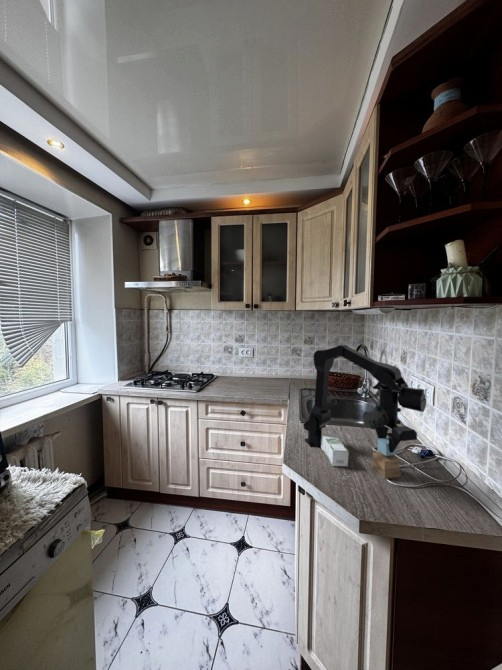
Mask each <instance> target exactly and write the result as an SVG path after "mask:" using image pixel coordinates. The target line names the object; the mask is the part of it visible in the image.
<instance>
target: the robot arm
mask: <svg viewBox="0 0 502 670" xmlns="http://www.w3.org/2000/svg"><path fill="white" fill-rule="evenodd" d="M340 357H341V358H343V359H345V360H347V361H349V362H351V363H353V364H355V366H358V367H360V368H361V369H363V370H365V371H367V372H368V373H370V375H371V376H372V378H373V379H375V380H376V381H377V383H376V384H374V385H373V386H372V389H373V390H378V391H379V392H378V404H376V405H375V407H374V410H371V411H364V412H363V414H362V416H361V417H362V420H363V424H364V426H365V427H368V428H370V430H375V433H376V436H377V440H378V439H380V438H389V451H390V453H393V452H394V450H395V449H396V450H397V448H396V447H398V445H399V444H400V442H407V441H415V440H416V441H417V440H418V432H417V431H416V430H415V429H413V428H412V427H409V426H407V425H403V426H398V425H400V424H401V420H399V418H398V414H399V413H401V412H402V409H401V408H403V409H409V410H413V411H417V412H421V413H423V412H425V409H426V407H427V398H426V393H425V389H423V388H414V387H410V386H409V385H408V383H407V382H406V381H405V379H404V377H403V376H402V372H401V369H400V368H399V367H397V366H396V365H392V364H389V363H385V362H380V361H377V360H374V359H372V358H370V357H369V356H366V355H365V354H363V353H361V352H359V351H357V350H355V349H353V348H351V347H349V345H347V344H341V345H340V344H339V345H337V346H333V347H331V348H327V349H319V350H316V351H315V352H314V353H313V357H312V358H313V365H314V368H315V370H316V374H315V375H316V378H315V379H316V380H315V388H314V389H315V390H314V401H313V402H314V403H313V406H312V408H311V410H310V412H309V417H308V420H307V421H305V422H304V423H303V429H304V431H307V438H304V442H306V444H308V446H309V447H321V434H323V433H322V432H323V429H325V428H326V426H327V425H328V424H329V423H330V421H332V418H331V415H332V410H329V409H328V406H327V402H328V401H327V400H328V391H329V377H330V371H331V369H332V367H333V365H334V362H335V359H337V358H340ZM399 406H401V408H400V407H399ZM389 430H390V432H389Z"/></svg>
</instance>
